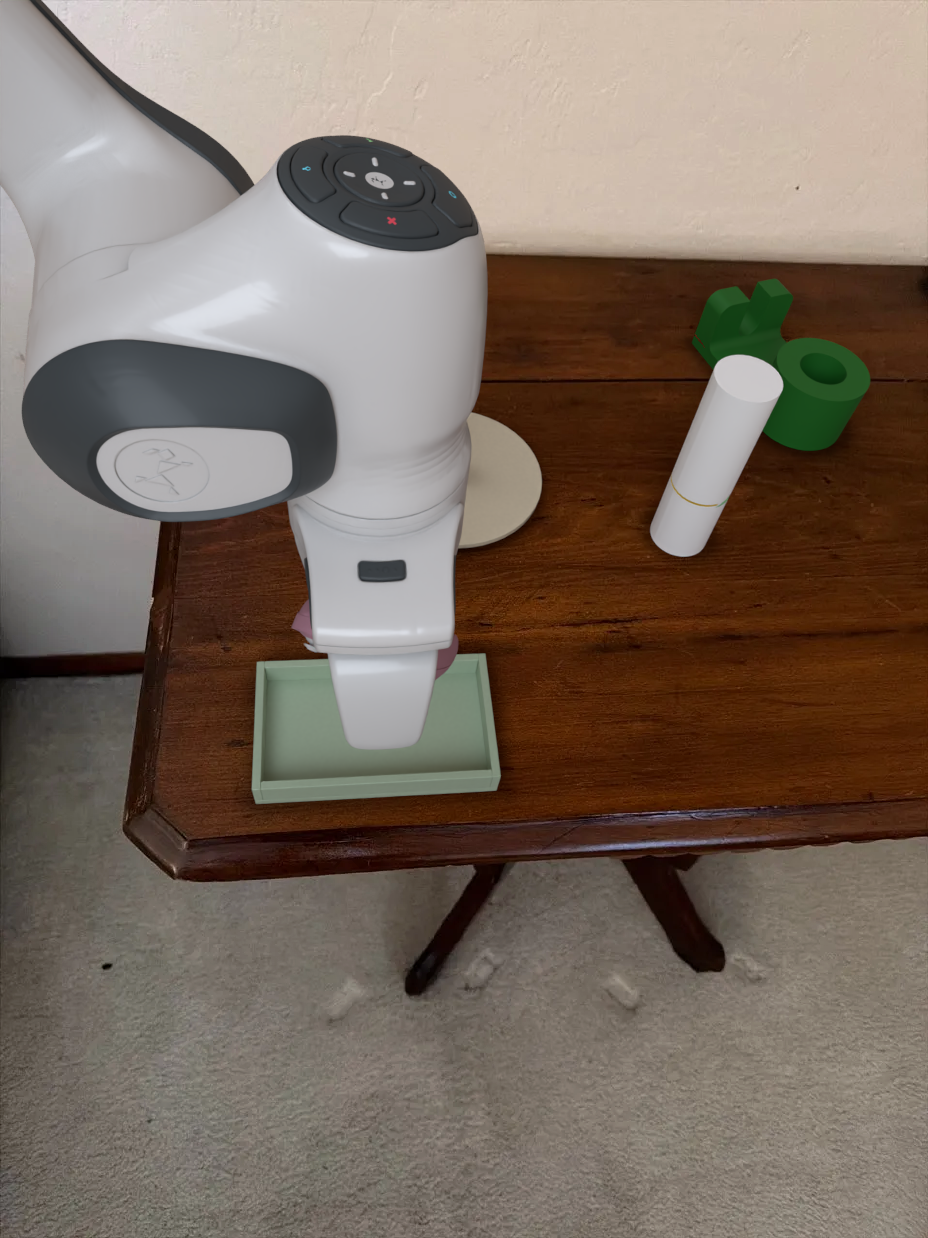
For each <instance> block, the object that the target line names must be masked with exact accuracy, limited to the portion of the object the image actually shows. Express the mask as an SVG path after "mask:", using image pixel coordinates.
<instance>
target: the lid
mask: <svg viewBox="0 0 928 1238" xmlns="http://www.w3.org/2000/svg"><path fill="white" fill-rule="evenodd" d="M467 423H468V427H469V431H470V436H471V444H472V451H471V462H470V470H469V477H468V485H467V492H466V501H465V508H464V518H463V526H462V533H461V539H460V543H459V547H458V549H469V548H471V549H472V548H477V547H483V546H486V545H489V544H493V543H495V542H498V541H500V540H502V539H505V538H506V537H509V536H510V535H512V534H514V533H515V532H516V531H518V530H519V529H520V528H521V527H522V526H524V525H525V524H526V523H527V521H528V520H529V519H530V518H531V517H532V515H533V514H534V512H535V511H536V509H537V506H538V505H539V502H540V498H541V494H542V487H543V476H542V471H541V467H540V464H539V462H538V459H537V457H536V455H535V453H534V452H533V450H532V448H531V447H530V446H529V445H528V443H526V441H525V440H524V439H523V438H522V437H521V436H520V435H518V434H517V433H516V432H515V431H513V430H512V429H511V428H509V427H508V426H507V425H504V424H503V423H501V422H499V421H497V420H495V419H493V418H491V417H488V416H485V415H482V414H480V413H476V412H471V413H470V415H469V417H468V419H467Z"/></svg>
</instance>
